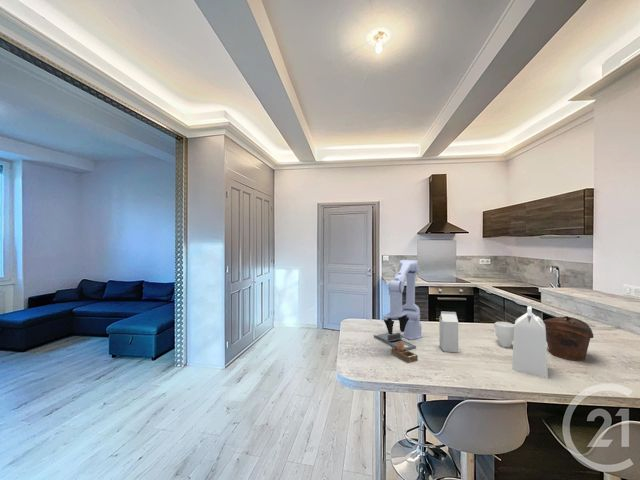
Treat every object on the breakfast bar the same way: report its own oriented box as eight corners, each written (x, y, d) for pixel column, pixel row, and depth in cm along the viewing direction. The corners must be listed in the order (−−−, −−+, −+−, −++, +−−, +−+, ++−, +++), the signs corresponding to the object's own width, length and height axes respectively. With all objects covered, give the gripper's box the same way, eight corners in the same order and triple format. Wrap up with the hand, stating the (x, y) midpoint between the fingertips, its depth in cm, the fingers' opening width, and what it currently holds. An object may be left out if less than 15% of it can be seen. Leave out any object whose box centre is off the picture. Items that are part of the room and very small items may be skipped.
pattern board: (387, 334, 157) (387, 332, 157) (415, 348, 136) (415, 345, 136) (373, 337, 152) (373, 335, 152) (401, 351, 132) (401, 349, 132)
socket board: (400, 351, 133) (400, 346, 133) (417, 360, 123) (417, 355, 123) (391, 353, 130) (391, 348, 130) (407, 363, 120) (407, 357, 120)
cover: (390, 333, 154) (390, 328, 154) (401, 338, 146) (401, 333, 146) (376, 336, 150) (376, 330, 150) (387, 341, 141) (387, 336, 141)
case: (575, 348, 136) (574, 312, 136) (605, 366, 116) (604, 325, 116) (534, 345, 140) (533, 311, 140) (556, 362, 121) (555, 322, 121)
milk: (514, 359, 123) (514, 303, 123) (547, 367, 116) (546, 307, 116) (512, 369, 114) (511, 308, 114) (547, 378, 107) (547, 313, 107)
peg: (402, 353, 130) (402, 341, 130) (404, 356, 127) (404, 343, 127) (396, 353, 130) (396, 341, 130) (398, 356, 127) (397, 343, 127)
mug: (519, 348, 135) (518, 326, 135) (503, 349, 135) (503, 326, 135) (501, 340, 147) (501, 319, 147) (487, 340, 147) (487, 319, 147)
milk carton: (458, 352, 131) (458, 314, 131) (442, 351, 132) (442, 313, 132) (454, 347, 138) (454, 310, 138) (439, 346, 139) (439, 309, 139)
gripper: (401, 301, 138) (401, 327, 138) (379, 304, 131) (379, 332, 131) (411, 304, 132) (411, 332, 132) (388, 307, 125) (389, 336, 125)
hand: (396, 332), depth 131 cm, fingers open, 7 cm apart
